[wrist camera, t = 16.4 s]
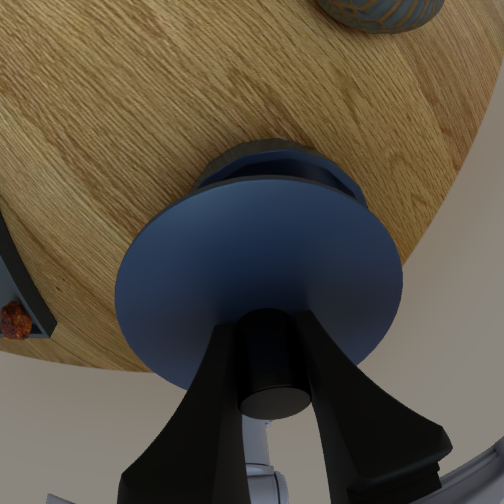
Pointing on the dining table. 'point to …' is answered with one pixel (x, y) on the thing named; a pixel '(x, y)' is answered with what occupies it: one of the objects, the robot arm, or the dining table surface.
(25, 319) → the meatball
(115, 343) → the dining table surface
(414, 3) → the vase
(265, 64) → the dining table surface
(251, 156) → the tin
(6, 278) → the tray
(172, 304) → the tin lid
